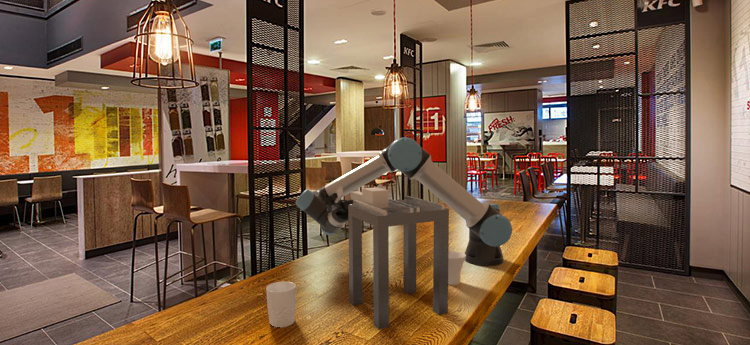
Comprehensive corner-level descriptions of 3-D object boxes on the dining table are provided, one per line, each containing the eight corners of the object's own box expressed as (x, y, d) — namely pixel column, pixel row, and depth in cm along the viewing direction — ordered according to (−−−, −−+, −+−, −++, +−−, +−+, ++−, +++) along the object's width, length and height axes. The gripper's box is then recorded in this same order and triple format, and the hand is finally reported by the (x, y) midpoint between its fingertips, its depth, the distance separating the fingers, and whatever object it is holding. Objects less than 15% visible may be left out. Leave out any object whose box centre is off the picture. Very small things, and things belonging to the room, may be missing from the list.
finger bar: (347, 199, 130) (347, 184, 130) (361, 198, 133) (361, 183, 132) (372, 208, 113) (372, 191, 113) (388, 207, 116) (388, 190, 115)
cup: (451, 289, 133) (451, 259, 132) (434, 280, 141) (434, 252, 141) (472, 284, 137) (472, 255, 136) (454, 276, 146) (455, 248, 145)
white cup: (289, 330, 106) (288, 293, 105) (261, 327, 107) (260, 291, 106) (301, 317, 113) (300, 282, 113) (275, 314, 115) (274, 280, 114)
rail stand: (349, 301, 124) (348, 200, 121) (411, 289, 133) (411, 195, 130) (378, 329, 106) (378, 211, 103) (447, 313, 115) (448, 204, 112)
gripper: (375, 219, 147) (400, 197, 130) (308, 226, 137) (326, 203, 119) (370, 200, 150) (394, 176, 133) (305, 206, 139) (321, 180, 122)
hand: (362, 189), depth 126 cm, fingers open, 13 cm apart
